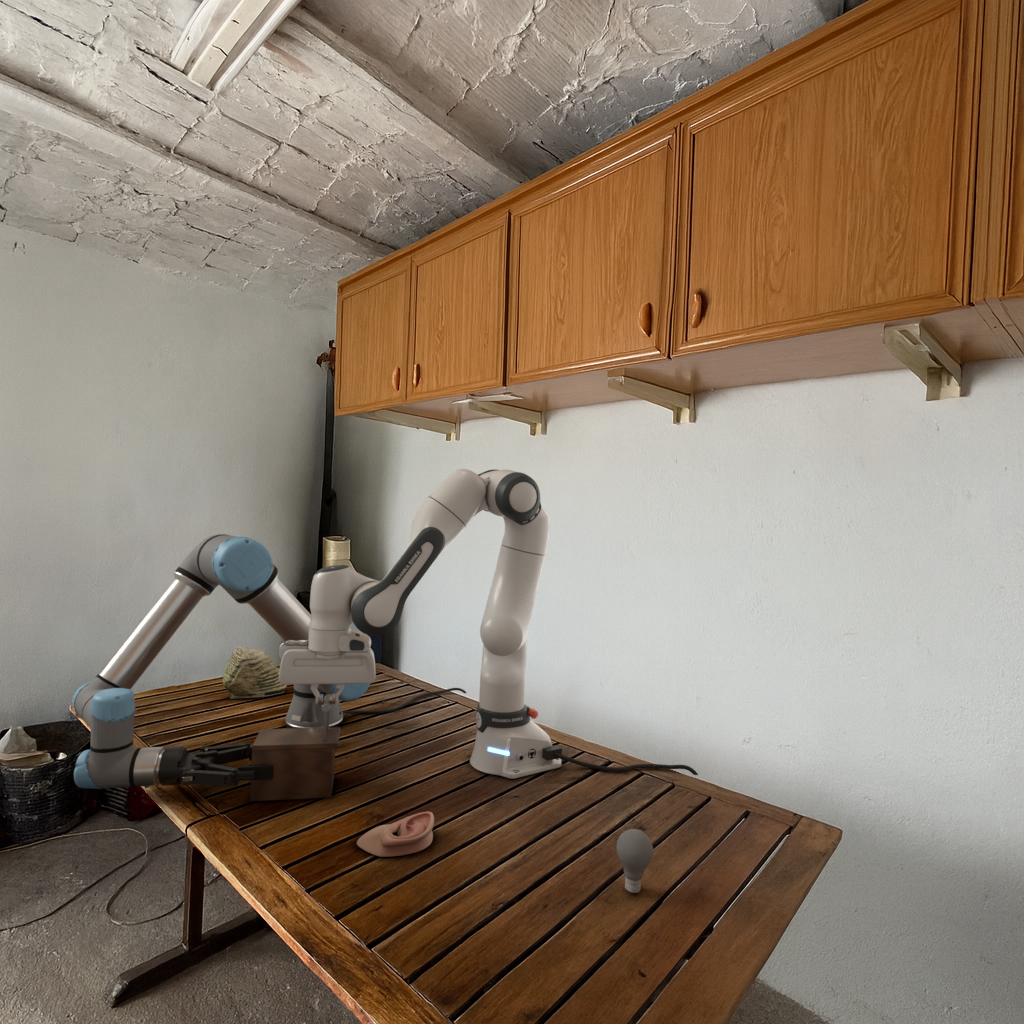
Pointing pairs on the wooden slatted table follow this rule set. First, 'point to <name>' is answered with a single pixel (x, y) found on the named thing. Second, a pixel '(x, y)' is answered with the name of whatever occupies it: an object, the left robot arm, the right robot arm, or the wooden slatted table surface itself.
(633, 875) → the light bulb
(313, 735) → the lid
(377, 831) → the anatomical model
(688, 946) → the wooden slatted table surface
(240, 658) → the fossil
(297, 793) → the chest
